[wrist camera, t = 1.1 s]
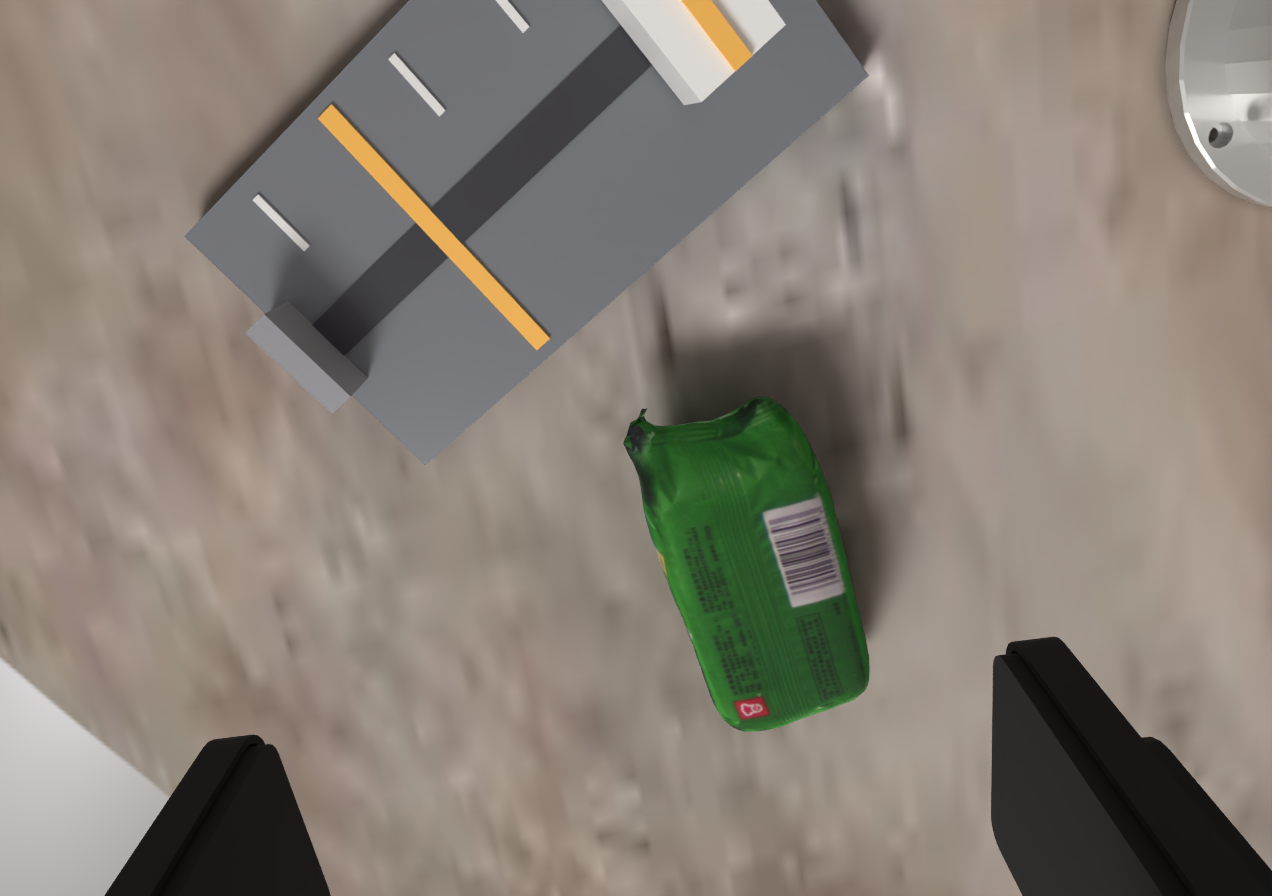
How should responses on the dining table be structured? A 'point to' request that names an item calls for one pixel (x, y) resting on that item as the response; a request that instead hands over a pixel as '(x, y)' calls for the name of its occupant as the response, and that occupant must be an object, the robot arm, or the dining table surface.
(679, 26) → the fader tab
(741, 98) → the console
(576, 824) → the dining table surface
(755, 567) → the snack package
